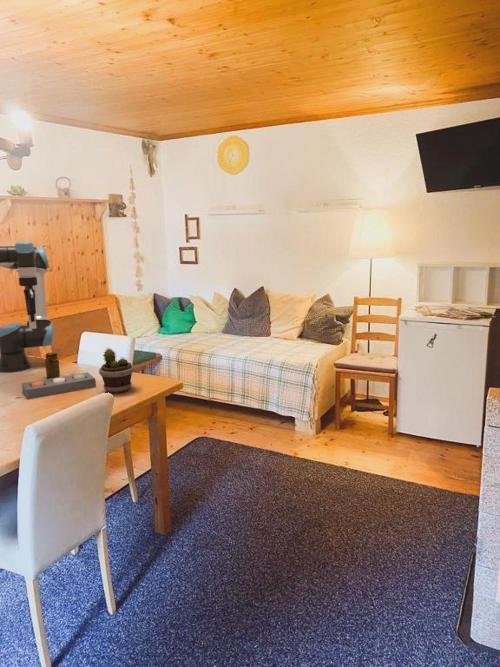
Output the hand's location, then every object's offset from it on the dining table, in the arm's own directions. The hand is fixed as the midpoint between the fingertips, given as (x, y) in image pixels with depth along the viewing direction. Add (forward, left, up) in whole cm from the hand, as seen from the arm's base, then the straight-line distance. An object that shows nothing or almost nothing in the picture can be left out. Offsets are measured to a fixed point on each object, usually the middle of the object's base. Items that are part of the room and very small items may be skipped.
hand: (33, 328), depth 226 cm
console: (+15, +6, -26) cm, 31 cm away
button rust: (+15, -3, -25) cm, 29 cm away
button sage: (+15, +15, -25) cm, 33 cm away
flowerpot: (+32, +27, -27) cm, 50 cm away
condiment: (-6, +8, -27) cm, 29 cm away
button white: (+15, +6, -25) cm, 30 cm away
